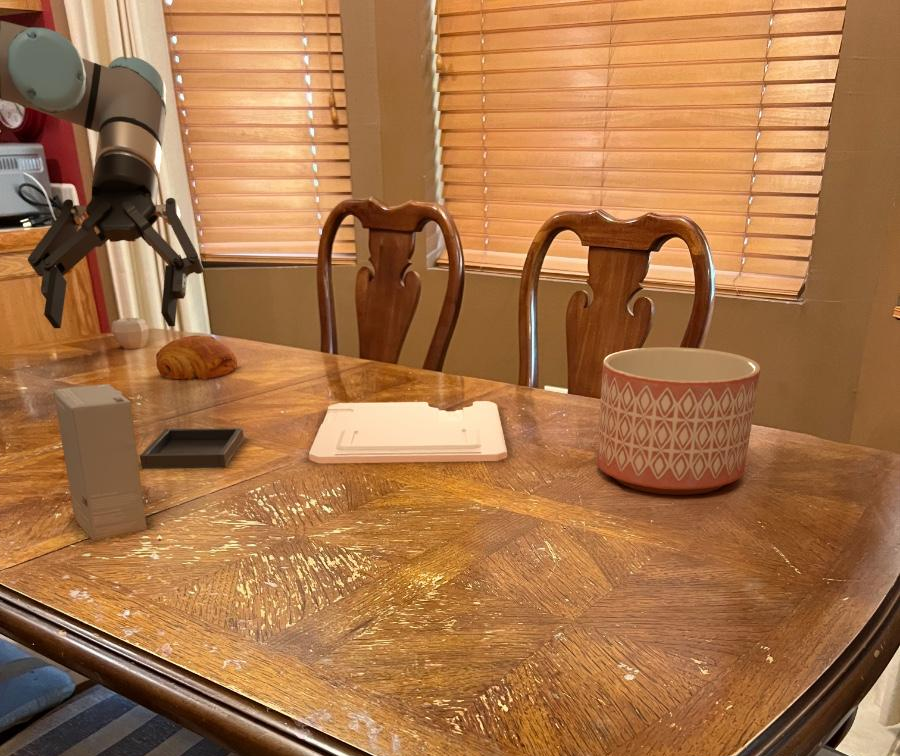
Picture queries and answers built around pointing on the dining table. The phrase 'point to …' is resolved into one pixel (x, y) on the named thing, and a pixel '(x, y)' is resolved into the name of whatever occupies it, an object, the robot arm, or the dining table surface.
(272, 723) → the dining table surface
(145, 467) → the pad
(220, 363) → the croissant
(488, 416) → the tray
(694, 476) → the planter
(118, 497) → the cosmetic box
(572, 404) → the dining table surface
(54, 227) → the robot arm
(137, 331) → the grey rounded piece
